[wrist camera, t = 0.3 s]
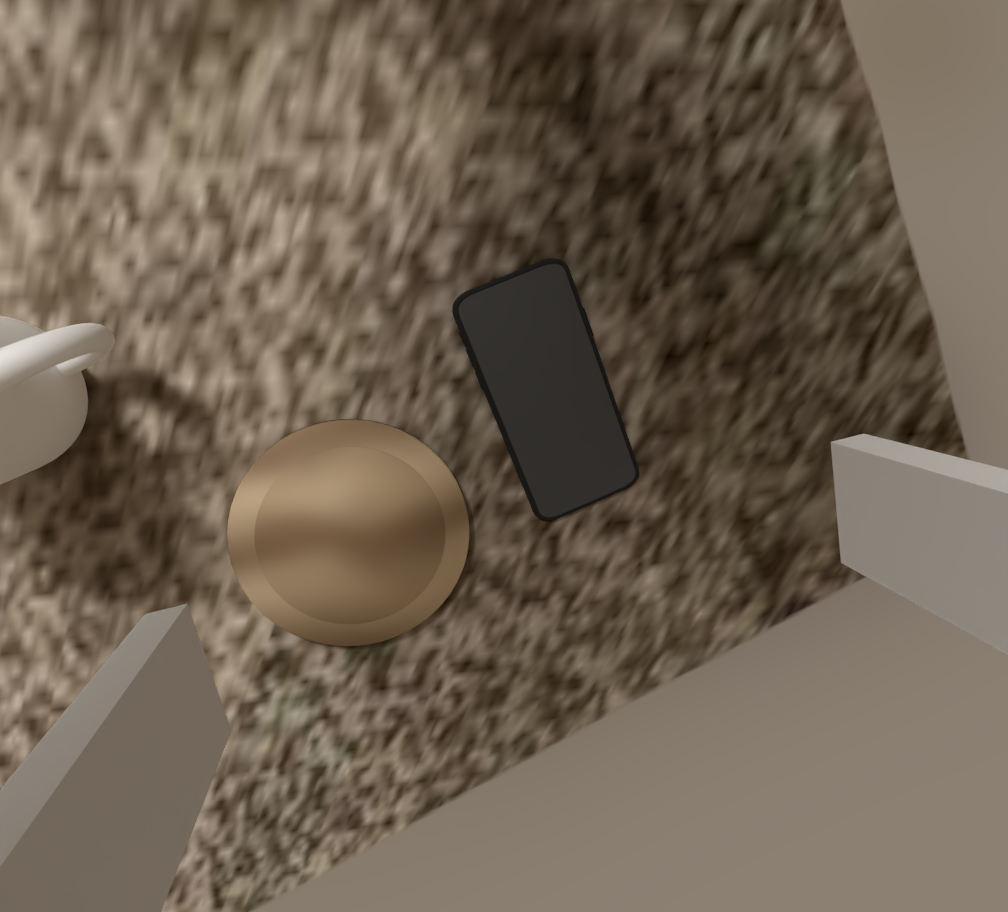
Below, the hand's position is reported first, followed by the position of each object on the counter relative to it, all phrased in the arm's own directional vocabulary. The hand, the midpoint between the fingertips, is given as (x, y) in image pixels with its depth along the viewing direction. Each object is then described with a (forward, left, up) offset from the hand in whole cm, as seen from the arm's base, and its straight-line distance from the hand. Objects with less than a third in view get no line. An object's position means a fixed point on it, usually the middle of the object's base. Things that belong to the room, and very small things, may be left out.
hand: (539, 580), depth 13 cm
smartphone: (+2, +6, -28) cm, 28 cm away
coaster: (+6, -8, -27) cm, 29 cm away
